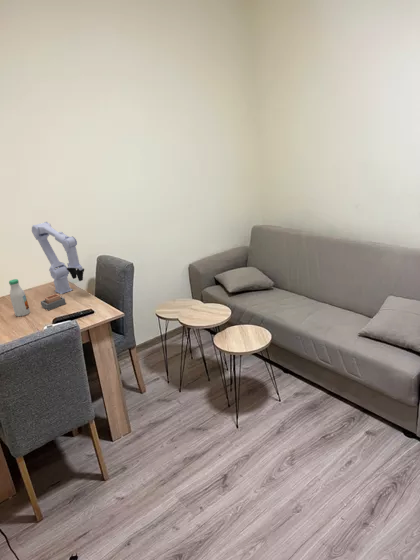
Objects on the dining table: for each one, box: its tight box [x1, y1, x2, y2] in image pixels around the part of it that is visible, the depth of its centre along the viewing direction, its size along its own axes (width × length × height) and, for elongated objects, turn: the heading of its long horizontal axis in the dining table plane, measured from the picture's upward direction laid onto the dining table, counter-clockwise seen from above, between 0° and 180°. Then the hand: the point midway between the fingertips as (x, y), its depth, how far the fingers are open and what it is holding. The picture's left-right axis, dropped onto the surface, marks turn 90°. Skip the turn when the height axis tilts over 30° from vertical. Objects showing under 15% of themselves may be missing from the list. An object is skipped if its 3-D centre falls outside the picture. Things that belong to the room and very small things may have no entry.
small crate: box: [44, 293, 62, 304], centre depth 230 cm, size 5×7×5 cm
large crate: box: [40, 295, 67, 311], centre depth 230 cm, size 9×11×4 cm
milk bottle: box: [8, 278, 31, 317], centre depth 220 cm, size 8×8×20 cm
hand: (77, 279), depth 240 cm, fingers open, 7 cm apart
